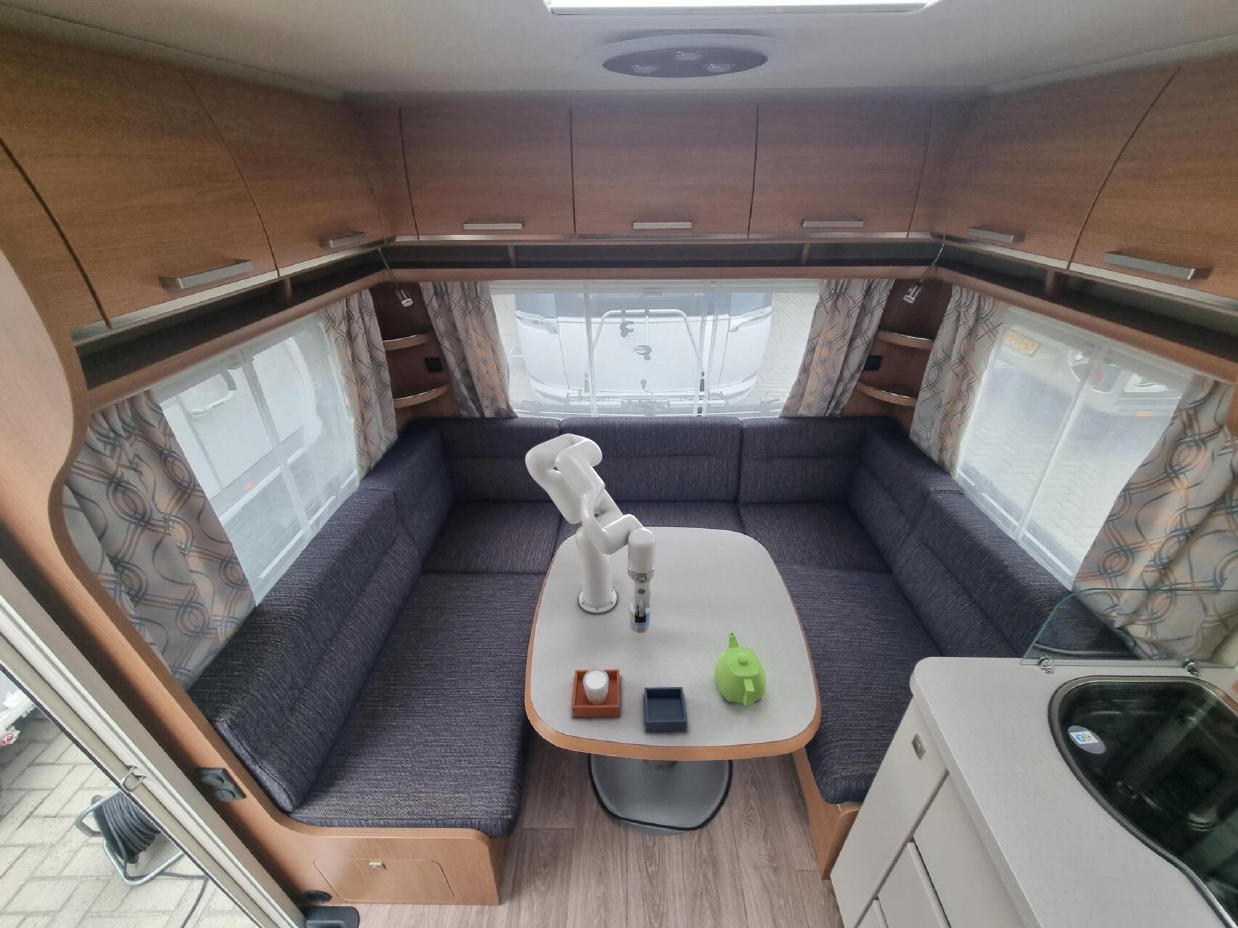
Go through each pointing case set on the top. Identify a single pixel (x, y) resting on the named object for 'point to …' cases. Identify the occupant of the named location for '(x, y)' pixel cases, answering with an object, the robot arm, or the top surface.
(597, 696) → the shot glass
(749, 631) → the top surface
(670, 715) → the bin
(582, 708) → the orange brown square tray
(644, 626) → the pill bottle
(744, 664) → the teapot
